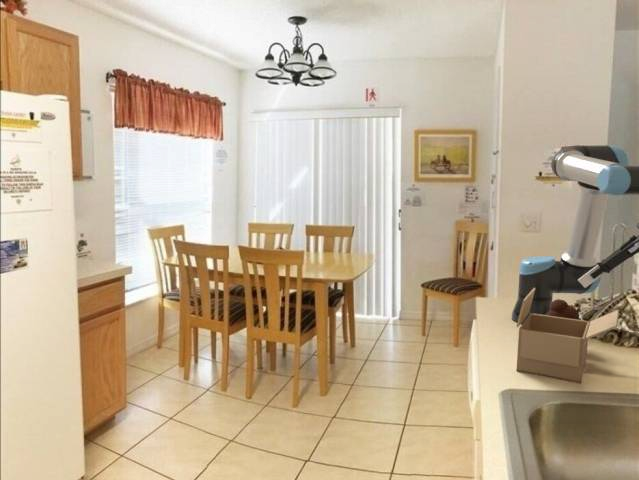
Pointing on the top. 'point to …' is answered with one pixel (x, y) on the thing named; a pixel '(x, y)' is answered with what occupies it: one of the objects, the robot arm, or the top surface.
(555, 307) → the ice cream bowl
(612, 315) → the carton flap
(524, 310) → the carton flap
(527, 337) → the carton
